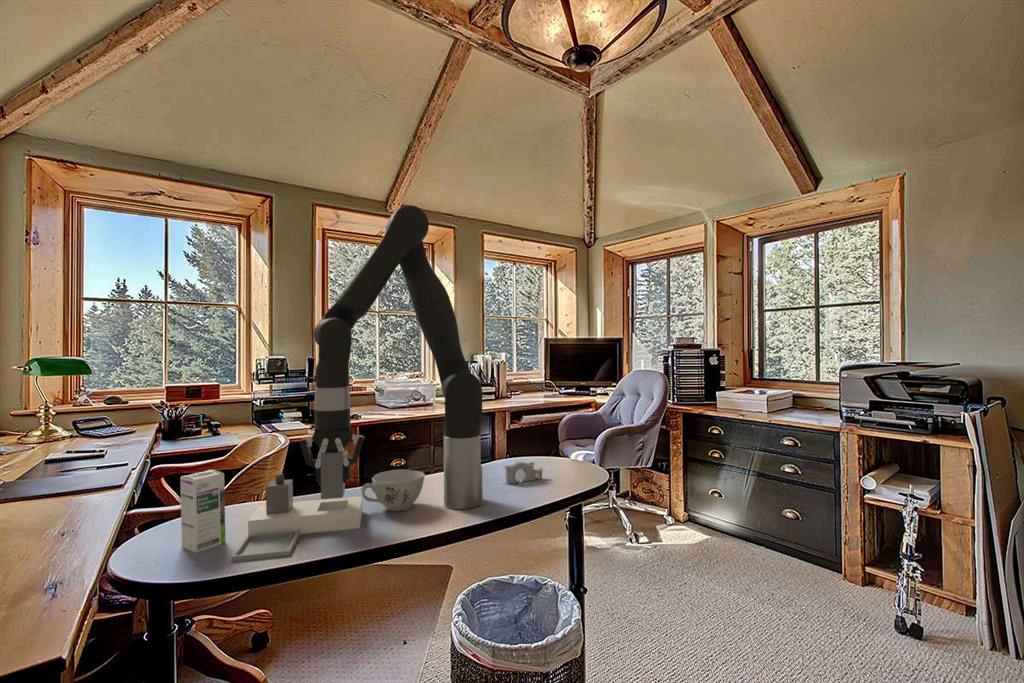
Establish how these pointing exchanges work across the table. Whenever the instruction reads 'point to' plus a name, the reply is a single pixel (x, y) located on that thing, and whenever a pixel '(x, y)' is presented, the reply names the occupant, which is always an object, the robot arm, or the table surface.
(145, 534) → the table surface
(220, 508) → the syrup box
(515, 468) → the garden wall model
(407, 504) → the teacup
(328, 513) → the power strip
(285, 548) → the tray
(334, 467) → the plug
